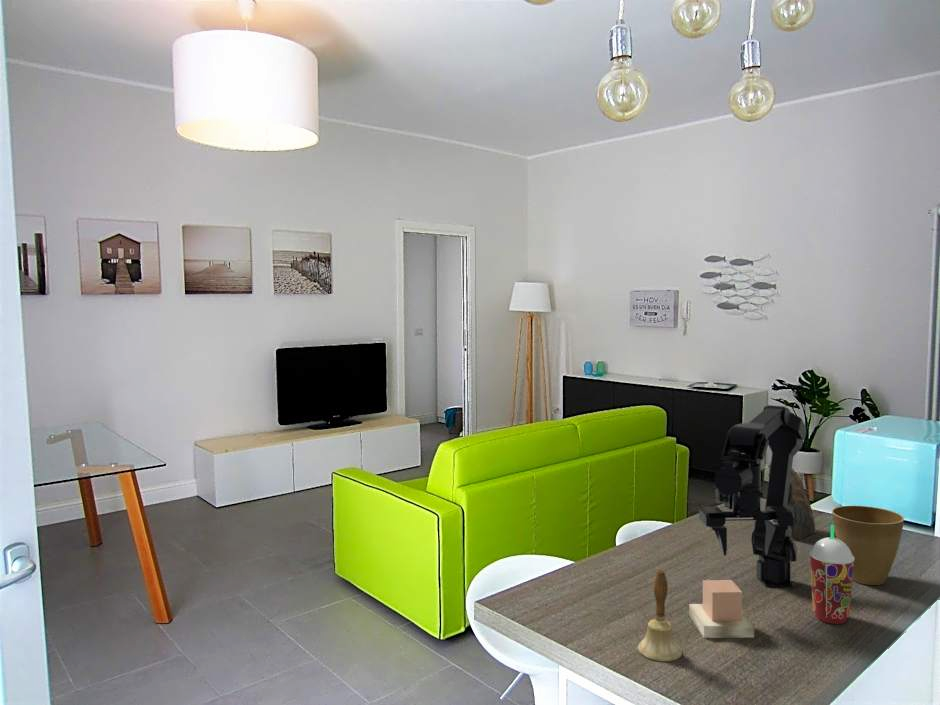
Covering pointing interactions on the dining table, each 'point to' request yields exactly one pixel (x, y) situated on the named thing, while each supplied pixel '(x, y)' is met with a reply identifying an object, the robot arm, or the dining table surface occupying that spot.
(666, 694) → the dining table surface
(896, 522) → the plant pot
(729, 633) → the base
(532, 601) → the dining table surface
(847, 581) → the smoothie
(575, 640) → the dining table surface
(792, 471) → the owl
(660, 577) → the hand bell
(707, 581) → the cube
